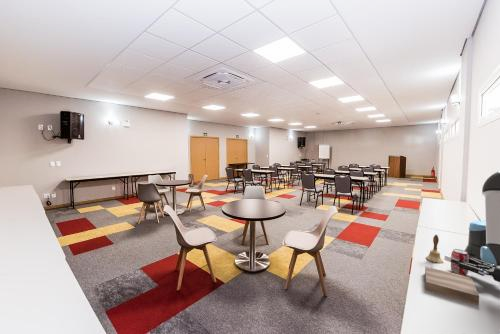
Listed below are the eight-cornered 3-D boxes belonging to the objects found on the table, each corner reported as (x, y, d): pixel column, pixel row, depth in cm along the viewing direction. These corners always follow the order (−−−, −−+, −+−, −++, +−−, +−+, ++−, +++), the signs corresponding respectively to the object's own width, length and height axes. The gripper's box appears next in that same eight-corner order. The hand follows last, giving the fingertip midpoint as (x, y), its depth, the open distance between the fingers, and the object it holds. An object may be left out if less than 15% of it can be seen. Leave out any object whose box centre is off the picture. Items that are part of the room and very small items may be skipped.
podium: (425, 273, 122) (425, 266, 122) (470, 285, 111) (471, 277, 111) (426, 289, 108) (426, 281, 107) (478, 304, 97) (479, 296, 96)
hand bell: (443, 259, 138) (444, 234, 137) (443, 264, 131) (444, 238, 130) (425, 255, 143) (427, 231, 142) (425, 260, 137) (426, 235, 136)
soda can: (467, 272, 123) (468, 251, 122) (468, 277, 117) (469, 255, 117) (450, 267, 127) (451, 247, 127) (450, 272, 122) (451, 251, 121)
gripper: (496, 289, 102) (438, 266, 123) (516, 279, 110) (458, 259, 131) (498, 273, 101) (438, 252, 122) (517, 265, 109) (458, 246, 130)
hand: (448, 256), depth 127 cm, fingers closed on soda can, 7 cm apart
